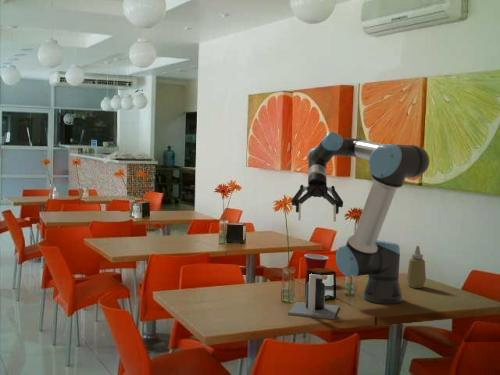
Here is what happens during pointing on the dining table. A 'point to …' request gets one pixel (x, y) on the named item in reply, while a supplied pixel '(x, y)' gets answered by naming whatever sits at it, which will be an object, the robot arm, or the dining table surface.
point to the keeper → (313, 303)
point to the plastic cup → (315, 261)
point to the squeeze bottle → (416, 270)
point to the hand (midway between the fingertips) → (317, 218)
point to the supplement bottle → (317, 294)
